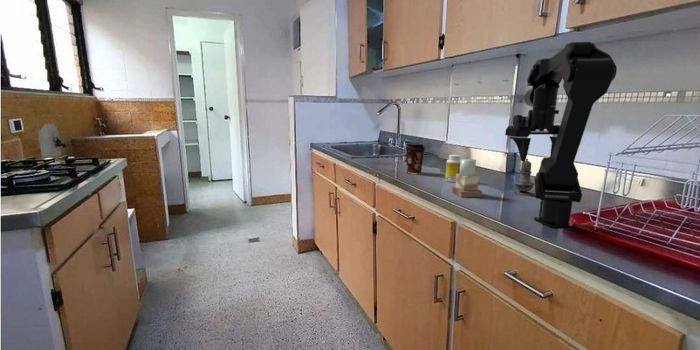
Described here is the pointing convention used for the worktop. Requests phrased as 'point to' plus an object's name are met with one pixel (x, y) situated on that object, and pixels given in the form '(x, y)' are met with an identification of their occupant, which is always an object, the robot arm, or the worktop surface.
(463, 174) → the pale green rounded block
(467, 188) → the cube
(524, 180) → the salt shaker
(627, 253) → the worktop surface
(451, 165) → the supplement bottle
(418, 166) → the coffee cup
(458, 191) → the slab
